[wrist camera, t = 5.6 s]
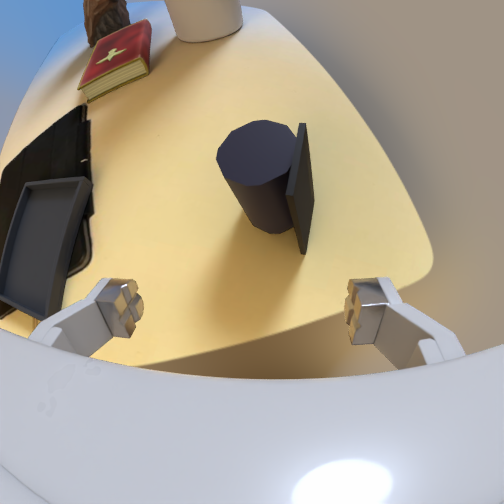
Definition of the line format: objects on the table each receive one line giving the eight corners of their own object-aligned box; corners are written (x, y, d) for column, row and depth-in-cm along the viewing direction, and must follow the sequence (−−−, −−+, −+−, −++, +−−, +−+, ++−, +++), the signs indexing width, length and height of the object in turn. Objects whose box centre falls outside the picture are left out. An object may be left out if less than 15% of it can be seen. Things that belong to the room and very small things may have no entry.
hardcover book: (153, 30, 40) (147, 16, 36) (150, 74, 34) (141, 55, 30) (104, 52, 40) (97, 39, 36) (88, 103, 34) (76, 88, 30)
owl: (117, 23, 46) (93, -25, 27) (150, 15, 44) (128, -40, 25) (88, 48, 43) (58, -3, 24) (121, 39, 41) (91, -22, 22)
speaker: (335, 204, 24) (343, 128, 14) (304, 256, 23) (298, 201, 14) (266, 172, 26) (241, 95, 17) (234, 218, 26) (191, 153, 16)
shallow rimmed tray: (58, 325, 24) (46, 323, 22) (4, 298, 26) (-6, 296, 23) (93, 184, 28) (84, 176, 26) (33, 188, 30) (25, 182, 28)
